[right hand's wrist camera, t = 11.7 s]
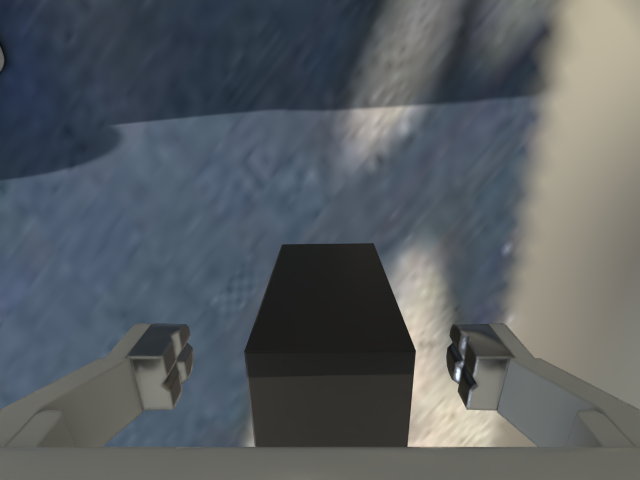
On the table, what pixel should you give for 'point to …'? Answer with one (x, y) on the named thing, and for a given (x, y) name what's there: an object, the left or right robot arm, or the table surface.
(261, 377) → the bar
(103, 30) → the table surface
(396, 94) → the table surface
